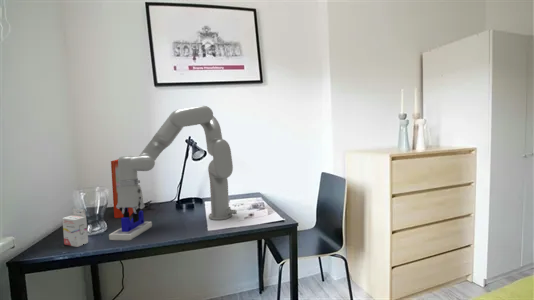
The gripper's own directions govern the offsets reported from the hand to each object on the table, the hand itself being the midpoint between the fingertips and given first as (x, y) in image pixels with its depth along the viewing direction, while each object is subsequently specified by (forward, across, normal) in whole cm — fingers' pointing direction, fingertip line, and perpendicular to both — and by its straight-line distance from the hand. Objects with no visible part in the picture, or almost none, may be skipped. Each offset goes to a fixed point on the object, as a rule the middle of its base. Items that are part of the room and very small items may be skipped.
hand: (131, 221), depth 124 cm
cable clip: (+3, 0, 0) cm, 3 cm away
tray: (+6, 0, 0) cm, 6 cm away
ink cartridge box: (+6, +17, +13) cm, 22 cm away
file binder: (+6, +24, -30) cm, 39 cm away
